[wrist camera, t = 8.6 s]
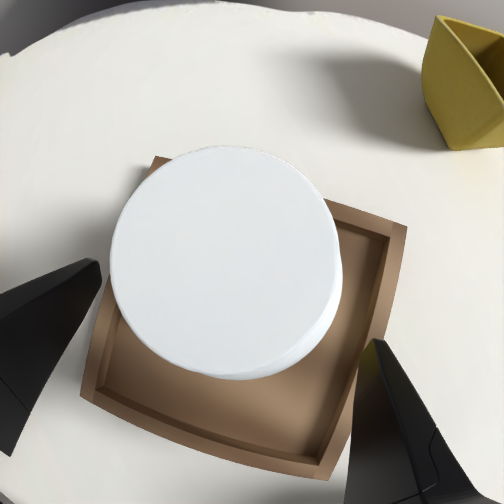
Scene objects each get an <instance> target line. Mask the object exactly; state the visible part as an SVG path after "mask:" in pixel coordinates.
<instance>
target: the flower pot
mask: <svg viewBox="0 0 504 504" xmlns="http://www.w3.org/2000/svg"><path fill="white" fill-rule="evenodd" d="M421 77H422V88H423V94H424V99H425V103H426V105H427V107H428V109H429V111H430V112H431V114H432V116H433V118H434V120H435V121H436V123H437V125H438V127H439V129H440V131H441V133H442V135H443V137H444V139H445V141H446V143H447V145H448V147H449V148H450V149H451V150H453V151H462V150H471V149H482V148H498V147H504V35H503V34H501V33H499V32H496V31H493V30H490V29H487V28H484V27H480V26H476V25H473V24H470V23H467V22H464V21H460V20H457V19H453V18H449V17H445V16H439V15H436V16H435V20H434V24H433V27H432V30H431V34H430V37H429V40H428V44H427V47H426V51H425V54H424V58H423V62H422V71H421Z"/></svg>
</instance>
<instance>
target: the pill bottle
mask: <svg viewBox="0 0 504 504" xmlns="http://www.w3.org/2000/svg"><path fill="white" fill-rule="evenodd" d="M110 276H111V284H112V288H113V292H114V296H115V299H116V302H117V304H118V307H119V309H120V311H121V313H122V315H123V317H124V319H125V320H126V322H127V324H128V325H129V327H130V328H131V330H132V331H133V332H134V333H135V335H136V336H137V337H138V338H139V339H140V340H141V341H142V342H143V343H144V344H145V345H146V346H147V347H148V348H150V349H151V350H152V351H153V352H154V353H156V354H157V355H158V356H160V357H161V358H163V359H165V360H166V361H168V362H170V363H172V364H174V365H177V366H179V367H181V368H184V369H187V370H190V371H194V372H198V373H202V374H204V375H207V376H211V377H215V378H220V379H226V380H250V379H258V378H262V377H266V376H270V375H273V374H275V373H278V372H281V371H283V370H285V369H287V368H289V367H291V366H292V365H294V364H295V363H297V362H298V361H300V360H301V359H302V358H304V357H305V356H306V355H307V354H308V353H309V352H310V351H311V350H313V349H314V348H315V346H316V345H317V344H318V343H319V342H320V340H321V339H322V338H323V336H324V335H325V333H326V332H327V330H328V328H329V327H330V325H331V323H332V321H333V319H334V317H335V314H336V311H337V309H338V305H339V302H340V298H341V292H342V278H343V274H342V262H341V256H340V249H339V240H338V234H337V230H336V227H335V223H334V220H333V217H332V215H331V213H330V211H329V209H328V207H327V205H326V203H325V201H324V199H323V198H322V196H321V195H320V193H319V192H318V191H317V189H316V188H315V187H314V186H313V184H312V183H311V182H310V181H309V180H308V179H307V178H306V177H305V176H304V175H303V174H302V173H301V172H299V171H298V170H297V169H296V168H294V167H293V166H291V165H290V164H288V163H287V162H285V161H283V160H281V159H279V158H277V157H275V156H273V155H271V154H269V153H266V152H263V151H260V150H256V149H252V148H247V147H240V146H214V147H207V148H202V149H198V150H195V151H191V152H188V153H186V154H183V155H181V156H178V157H176V158H174V159H173V160H171V161H169V162H167V163H166V164H164V165H162V166H161V167H160V168H158V169H157V170H156V171H154V172H153V173H152V174H151V175H149V176H148V177H147V178H146V179H145V180H144V181H143V182H142V183H141V184H140V185H139V186H138V188H137V189H136V190H135V191H134V193H133V194H132V195H131V197H130V198H129V200H128V201H127V203H126V204H125V206H124V208H123V210H122V212H121V214H120V216H119V219H118V221H117V224H116V227H115V229H114V233H113V237H112V242H111V249H110Z"/></svg>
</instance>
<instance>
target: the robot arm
mask: <svg viewBox="0 0 504 504" xmlns="http://www.w3.org/2000/svg"><path fill="white" fill-rule="evenodd" d="M101 284H102V277H101V271H100V266H99V263H98V261H97V260H94V259H91V258H85V259H83V260H80V261H78V262H75V263H73V264H70V265H68V266H65V267H63V268H60V269H58V270H55V271H53V272H50V273H48V274H46V275H43V276H41V277H38V278H36V279H34V280H31V281H29V282H27V283H24V284H22V285H20V286H17V287H15V288H13V289H10V290H8V291H6V292H4V293H3V294H0V451H2V452H3V453H5V454H6V455H8V456H9V457H10V456H11V455H12V453H13V450H14V448H15V446H16V443H17V441H18V439H19V437H20V435H21V432H22V430H23V428H24V426H25V424H26V422H27V420H28V418H29V416H30V412H31V411H32V409H33V407H34V405H35V403H36V401H37V399H38V397H39V395H40V394H41V392H42V390H43V388H44V386H45V384H46V382H47V381H48V379H49V377H50V375H51V373H52V371H53V370H54V368H55V366H56V364H57V363H58V361H59V359H60V357H61V356H62V354H63V352H64V351H65V349H66V347H67V346H68V344H69V342H70V341H71V339H72V337H73V336H74V334H75V333H76V331H77V329H78V328H79V326H80V324H81V323H82V321H83V319H84V317H85V316H86V314H87V312H88V310H89V308H90V306H91V304H92V302H93V300H94V298H95V296H96V294H97V292H98V290H99V289H100V287H101ZM0 504H14V503H13V502H12V501H11V500H9V499H8V498H7V497H6V496H5V495H4V494H2V493H1V492H0ZM344 504H501V503H498V502H496V501H494V500H491V499H489V498H487V497H485V496H483V495H482V494H480V493H479V492H478V491H477V490H476V489H475V487H474V486H473V484H472V483H471V481H470V480H469V478H468V477H467V475H466V474H465V472H464V470H463V469H462V467H461V466H460V464H459V463H458V461H457V460H456V458H455V457H454V455H453V453H452V452H451V450H450V449H449V447H448V445H447V443H446V442H445V440H444V438H443V437H442V435H441V433H440V431H439V429H438V428H437V427H436V424H435V422H434V420H433V419H432V417H431V415H430V413H429V412H428V410H427V408H426V406H425V405H424V403H423V401H422V400H421V398H420V396H419V394H418V393H417V391H416V389H415V388H414V386H413V384H412V383H411V381H410V379H409V378H408V376H407V375H406V373H405V371H404V370H403V368H402V366H401V365H400V363H399V362H398V360H397V358H396V357H395V355H394V354H393V352H392V350H391V349H390V347H389V346H388V344H387V343H386V341H385V340H382V339H377V338H372V339H371V340H370V342H369V343H368V345H367V346H366V348H365V349H364V351H363V352H362V354H361V356H360V359H359V366H358V374H357V381H356V387H355V394H354V401H353V415H352V431H351V444H350V456H349V466H348V475H347V483H346V491H345V498H344Z"/></svg>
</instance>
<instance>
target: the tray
mask: <svg viewBox="0 0 504 504" xmlns="http://www.w3.org/2000/svg"><path fill="white" fill-rule="evenodd" d="M171 160H173V159H168V158H164V157H159V156H155V158H154V160H153V163H152V165H151V167H150V169H149V171H148V174H147V176H146V178H147V177H148V176H149V175H151V174H152V173H153V172H154V171H156V170H157V169H158V168H160V167H161V166H162V165H164V164H166V163H167V162H169V161H171ZM146 178H145V179H146ZM323 199H324V198H323ZM324 201H325V203H326V205H327V207H328V209H329V211H330V213H331V215H332V217H333V220H334V223H335V227H336V230H337V234H338V240H339V249H340V256H341V262H342V274H343V278H342V292H341V298H340V302H339V305H338V309H337V311H336V314H335V317H334V319H333V321H332V323H331V325H330V327H329V328H328V330H327V332H326V333H325V335H324V336H323V338H322V339H321V340H320V342H319V343H318V344H317V345H316V346H315V348H314V349H313V350H311V351H310V352H309V353H308V354H307V355H306V356H305V357H304V358H302V359H301V360H300V361H298V362H297V363H295V364H294V365H292V366H291V367H289V368H287V369H285V370H283V371H281V372H278V373H275V374H273V375H270V376H266V377H262V378H258V379H250V380H226V379H220V378H215V377H211V376H207V375H204V374H202V373H198V372H194V371H190V370H187V369H184V368H181V367H179V366H177V365H174V364H172V363H170V362H168V361H166V360H165V359H163V358H161V357H160V356H158V355H157V354H156V353H154V352H153V351H152V350H151V349H150V348H148V347H147V346H146V345H145V344H144V343H143V342H142V341H141V340H140V339H139V338H138V337H137V336H136V335H135V333H134V332H133V331H132V330H131V328H130V327H129V325H128V324H127V322H126V320H125V319H124V317H123V315H122V313H121V311H120V309H119V307H118V304H117V302H116V299H115V296H114V292H113V288H112V284H111V276H110V274H109V277H108V280H107V284H106V287H105V290H104V294H103V297H102V300H101V304H100V308H99V311H98V315H97V319H96V322H95V326H94V330H93V334H92V338H91V343H90V347H89V351H88V356H87V360H86V365H85V370H84V375H83V380H82V386H81V391H80V396H81V397H82V398H84V399H86V400H88V401H89V402H91V403H93V404H95V405H96V406H98V407H100V408H102V409H104V410H106V411H107V412H109V413H111V414H113V415H115V416H117V417H119V418H121V419H123V420H125V421H127V422H129V423H131V424H134V425H136V426H138V427H140V428H142V429H144V430H147V431H149V432H151V433H154V434H156V435H158V436H161V437H163V438H165V439H168V440H170V441H173V442H176V443H178V444H181V445H183V446H186V447H189V448H192V449H195V450H197V451H200V452H203V453H206V454H209V455H212V456H216V457H219V458H222V459H225V460H229V461H232V462H236V463H240V464H243V465H247V466H251V467H255V468H259V469H263V470H268V471H272V472H277V473H282V474H287V475H293V476H298V477H304V478H311V479H318V480H326V481H328V480H329V478H330V476H331V474H332V472H333V470H334V468H335V466H336V464H337V462H338V460H339V457H340V455H341V453H342V451H343V449H344V446H345V444H346V442H347V440H348V437H349V435H350V433H351V430H352V415H353V401H354V394H355V387H356V381H357V374H358V366H359V359H360V356H361V354H362V352H363V351H364V349H365V348H366V346H367V345H368V343H369V342H370V340H371V339H372V338H377V339H382V340H383V339H384V335H385V331H386V328H387V324H388V320H389V316H390V312H391V308H392V304H393V300H394V296H395V291H396V287H397V282H398V277H399V272H400V267H401V262H402V257H403V251H404V245H405V239H406V233H407V226H404V225H402V224H399V223H396V222H393V221H390V220H388V219H385V218H382V217H379V216H376V215H373V214H370V213H367V212H364V211H361V210H358V209H355V208H352V207H349V206H346V205H343V204H340V203H337V202H334V201H330V200H327V199H324Z"/></svg>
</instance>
